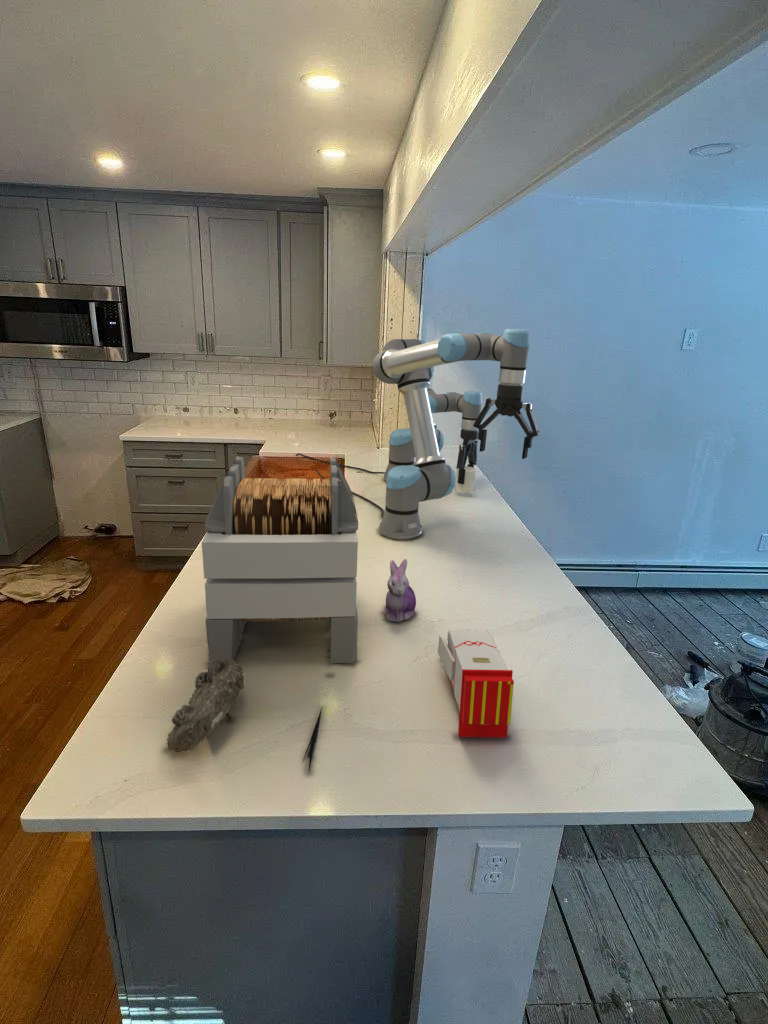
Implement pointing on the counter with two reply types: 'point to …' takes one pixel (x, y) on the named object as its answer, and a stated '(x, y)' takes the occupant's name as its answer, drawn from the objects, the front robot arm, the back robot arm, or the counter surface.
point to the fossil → (206, 705)
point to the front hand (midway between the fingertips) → (502, 454)
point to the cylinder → (466, 480)
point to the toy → (478, 682)
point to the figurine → (399, 594)
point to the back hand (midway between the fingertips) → (465, 481)
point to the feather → (313, 740)
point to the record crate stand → (281, 558)
